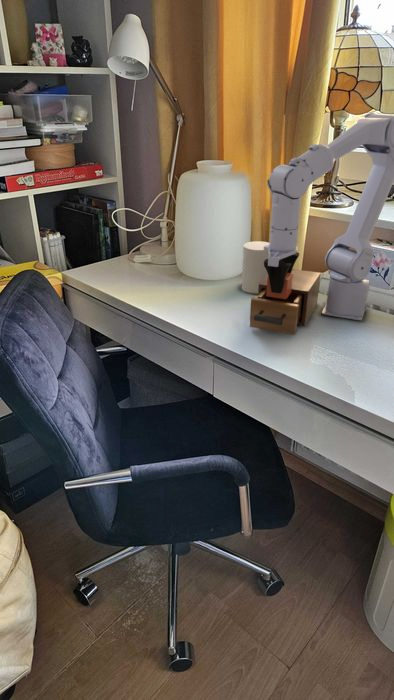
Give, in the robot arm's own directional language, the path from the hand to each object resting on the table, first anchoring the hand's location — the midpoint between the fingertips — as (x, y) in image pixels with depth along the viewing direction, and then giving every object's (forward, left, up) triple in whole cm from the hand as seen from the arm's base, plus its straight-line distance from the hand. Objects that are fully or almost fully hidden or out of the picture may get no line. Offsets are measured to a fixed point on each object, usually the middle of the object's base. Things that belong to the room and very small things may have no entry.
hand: (279, 288), depth 106 cm
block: (0, 0, -1) cm, 1 cm away
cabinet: (0, -10, -10) cm, 14 cm away
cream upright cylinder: (+12, -22, -10) cm, 27 cm away
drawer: (0, 0, -9) cm, 9 cm away
